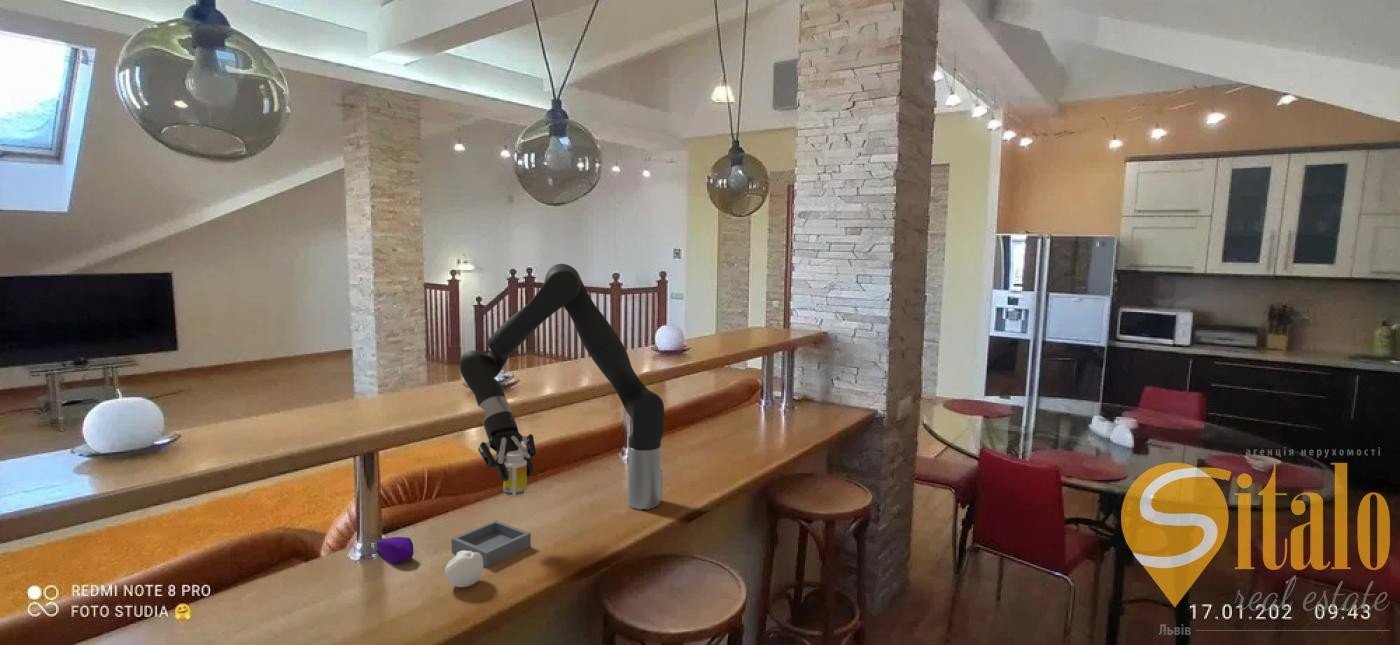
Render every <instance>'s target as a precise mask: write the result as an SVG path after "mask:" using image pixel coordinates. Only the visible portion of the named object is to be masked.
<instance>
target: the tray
mask: <svg viewBox="0 0 1400 645" xmlns="http://www.w3.org/2000/svg"><path fill="white" fill-rule="evenodd" d="M531 534H532V533H531V532H528V531H525V530H522V529H520V528H518V527H515V526H512V525H509V524H507V523H504V522H501V521H499V520H496V519H495V520H493V521H491V522H488V523H486V524H484V525H480V526H479V527H476V528H474V529H471V530H469V531H467V532H464V533H462V534H460V535H456V536H454V537H452V538H451V539H450V540H451V541H450V542H451V553H452V554H454V555H456V554H457V552H459V551H472V552H473V553H474V552H478V553H480V555H481V556H482V558H483V568H486V567H488V568H490V567H492V566H494V565H496V564H497V562H498V563H500V562H502V561H504V560H506V559H508V558H507V557H509V558H511V557H513V556H514V555H517V554H519V553H521V552H523V551H525V550H527V549H529V548H531V545H532V544H531V542H532V540H531V539H532V538H531V537H532V536H531ZM516 553H517V554H516ZM512 555H513V556H512ZM510 556H511V557H510ZM503 559H504V560H503ZM501 560H502V561H501ZM499 561H500V562H499ZM495 563H496V564H495ZM491 565H492V566H491ZM489 566H490V567H489Z"/></svg>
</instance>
